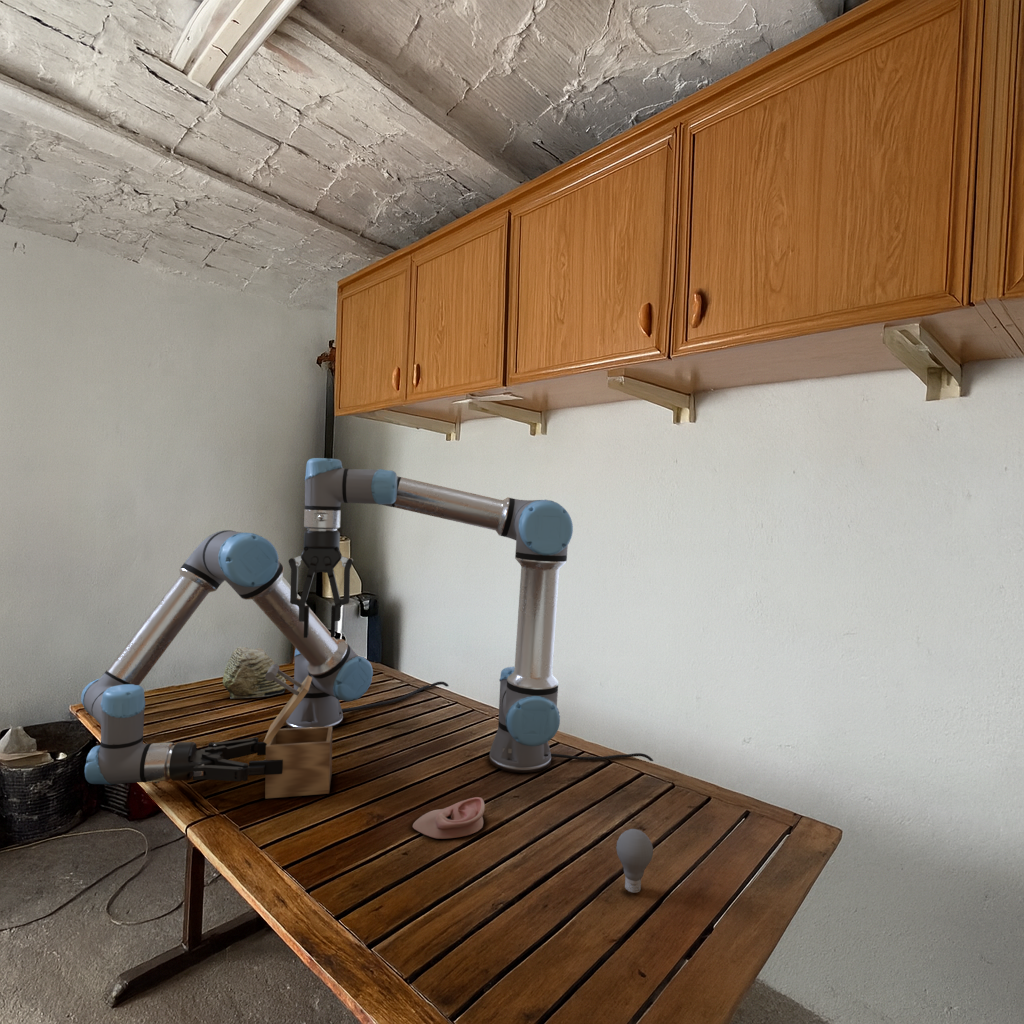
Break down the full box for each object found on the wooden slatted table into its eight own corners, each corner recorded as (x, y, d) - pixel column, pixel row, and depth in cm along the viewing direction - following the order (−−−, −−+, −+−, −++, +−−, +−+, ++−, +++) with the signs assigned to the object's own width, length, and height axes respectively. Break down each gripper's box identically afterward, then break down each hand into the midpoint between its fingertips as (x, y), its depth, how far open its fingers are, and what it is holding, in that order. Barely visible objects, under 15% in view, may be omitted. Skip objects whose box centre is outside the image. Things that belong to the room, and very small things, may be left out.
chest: (331, 773, 144) (332, 726, 144) (329, 793, 135) (329, 742, 134) (272, 778, 141) (272, 729, 141) (265, 798, 132) (265, 746, 132)
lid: (312, 677, 143) (278, 655, 141) (308, 691, 133) (271, 667, 131) (274, 727, 141) (239, 706, 139) (268, 744, 132) (230, 721, 130)
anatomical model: (407, 813, 120) (427, 787, 131) (406, 834, 120) (426, 806, 131) (475, 823, 117) (489, 796, 129) (474, 845, 117) (488, 815, 129)
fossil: (218, 695, 195) (220, 647, 195) (278, 685, 208) (279, 640, 207) (228, 703, 189) (230, 653, 188) (289, 692, 201) (290, 645, 201)
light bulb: (610, 879, 108) (613, 822, 108) (644, 879, 109) (647, 822, 109) (619, 902, 102) (622, 840, 102) (655, 901, 103) (658, 840, 103)
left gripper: (187, 757, 143) (291, 753, 148) (154, 805, 121) (277, 797, 126) (188, 724, 143) (292, 721, 148) (156, 766, 121) (279, 760, 126)
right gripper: (276, 529, 132) (273, 640, 132) (364, 531, 136) (361, 639, 136) (280, 527, 139) (278, 633, 140) (364, 529, 143) (361, 631, 144)
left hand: (285, 756), depth 137 cm, fingers closed on chest, 10 cm apart
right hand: (319, 635), depth 138 cm, fingers open, 5 cm apart
